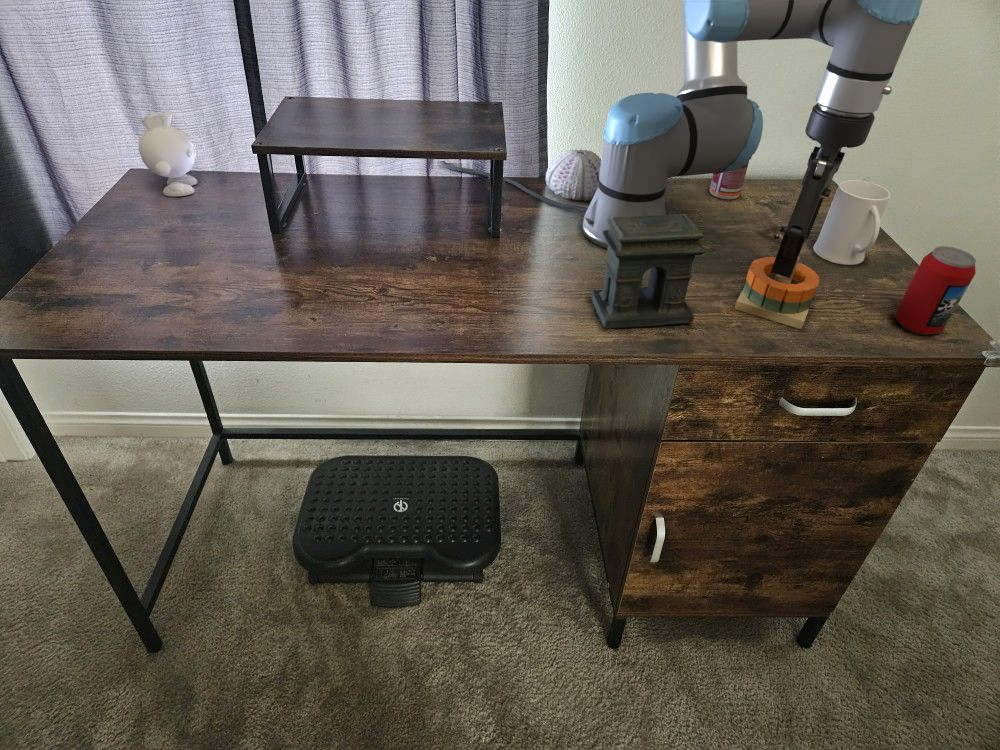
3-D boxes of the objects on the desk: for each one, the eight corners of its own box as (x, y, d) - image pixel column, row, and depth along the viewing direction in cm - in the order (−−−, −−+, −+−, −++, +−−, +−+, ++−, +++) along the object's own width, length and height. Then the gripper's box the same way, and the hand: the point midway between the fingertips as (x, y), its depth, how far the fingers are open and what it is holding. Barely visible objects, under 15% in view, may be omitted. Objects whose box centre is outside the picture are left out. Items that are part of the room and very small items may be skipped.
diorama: (781, 244, 118) (785, 233, 117) (765, 236, 120) (768, 225, 119) (792, 240, 119) (796, 230, 118) (776, 232, 122) (779, 222, 120)
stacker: (734, 309, 100) (749, 260, 95) (749, 280, 107) (765, 234, 102) (801, 329, 97) (820, 280, 91) (812, 298, 103) (831, 251, 98)
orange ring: (739, 289, 98) (743, 278, 97) (755, 261, 105) (758, 250, 104) (808, 309, 94) (812, 298, 93) (819, 279, 101) (824, 268, 100)
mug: (879, 276, 110) (910, 210, 102) (829, 274, 110) (856, 208, 102) (852, 242, 119) (879, 180, 111) (806, 240, 119) (829, 177, 111)
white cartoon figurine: (200, 206, 121) (178, 126, 112) (145, 209, 119) (118, 128, 110) (209, 174, 132) (190, 98, 123) (159, 176, 131) (135, 100, 121)
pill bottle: (745, 194, 134) (760, 141, 127) (729, 203, 130) (744, 148, 123) (718, 185, 137) (732, 132, 130) (702, 193, 133) (715, 139, 126)
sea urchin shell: (609, 180, 137) (614, 142, 132) (609, 207, 127) (616, 168, 122) (546, 175, 138) (549, 137, 133) (542, 202, 128) (545, 162, 122)
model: (671, 293, 103) (692, 205, 94) (693, 326, 96) (718, 234, 87) (588, 298, 101) (600, 209, 92) (604, 332, 94) (620, 239, 85)
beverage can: (939, 343, 95) (981, 272, 87) (889, 328, 98) (925, 258, 90) (942, 322, 100) (982, 252, 92) (895, 307, 102) (930, 239, 94)
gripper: (864, 144, 73) (800, 301, 87) (886, 89, 90) (830, 227, 104) (795, 130, 76) (744, 284, 90) (830, 79, 92) (782, 215, 106)
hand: (790, 254), depth 97 cm, fingers open, 13 cm apart
